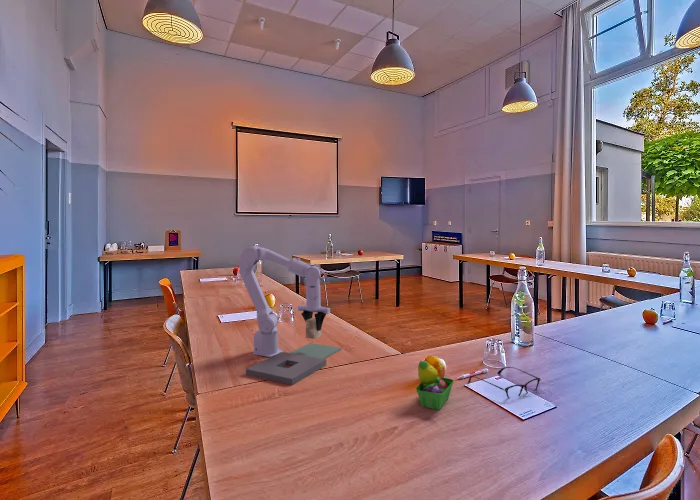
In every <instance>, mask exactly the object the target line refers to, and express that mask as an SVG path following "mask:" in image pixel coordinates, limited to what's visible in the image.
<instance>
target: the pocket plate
mask: <svg viewBox="0 0 700 500" xmlns="http://www.w3.org/2000/svg"><path fill="white" fill-rule="evenodd" d="M287 366H289V367H287ZM326 366H327V358H326V359H321V358H315V357H309V356H304V355H298V354H292V353H290V352H286V351H283V352H281V353H279V354H276V355H274V356H272V357H268V358H267V359H265V360H262V361H260V362H258V363H256V364H253V365H252V366H250V367H248V368H246V369H245V374H246V376H250V377H255V378H258V379H259V378H260V379H263V380H264V379H265V380H270V381H274V382H277V383H282V384H286V385H291V386H293V385H295V384H297V383H299V382H300V381H302V380H303V379H305V378H307V377H309V376H311V375H313V373H315V372H317V371H319V370H320V369H322V368H324V367H326Z"/></svg>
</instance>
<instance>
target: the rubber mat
mask: <svg viewBox="0 0 700 500" xmlns="http://www.w3.org/2000/svg"><path fill="white" fill-rule="evenodd" d="M342 350H343V349H342V347H340V346H333V345H332V346H331V345H327V344H326V345H325V344H319V343H314V342H310V343H307V344H304V345H303V346H301V347H299V348H297V349H294V350H292V351H290V352H289V353H292V354H298V355H304V356H309V357H315V358H321V359H326V360H327V358H329V357H331V356H333V355H334V354H336V353H339V352H340V351H342Z"/></svg>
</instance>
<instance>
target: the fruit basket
mask: <svg viewBox="0 0 700 500" xmlns="http://www.w3.org/2000/svg"><path fill="white" fill-rule="evenodd" d="M417 370H418V371H417V372H418V373H417V374H418V376H417V377H418V379H419V381H420V383H419V384H418V386H416V387H415V390H416V392H417V395H418V398H419V403H420V405H421V407H426V408H430V409H433V410H437V411H439V410H440V409H441V407H443V405H444V404H446V401H447V400H448V399H449V398H450V395H451V391H452V387H453V384H454V383H455V381H454V379H452V378H447V377H444V376H443V377H442V376H438V375H439V373H438V370H437V369H436V368H435V367H434V366H433V365H431V364H430V363H429V362H427V361H426V360H420V361H419V362H418V365H417Z"/></svg>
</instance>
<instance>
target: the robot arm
mask: <svg viewBox="0 0 700 500" xmlns="http://www.w3.org/2000/svg"><path fill="white" fill-rule="evenodd" d="M239 257H240V259H239V266H238V267H239V269H238V271H239V274H240V276H241V280H242V282H243V284H244V286H245V288H246V291H247V292H248V296H249V297H250V300H251V302H252V304H253V306H254V308H255V311H256V319H257V322H258V323H257V326H258V329H259V330H257V331H256V332H255V334H254V336H253V352H252V354H253V355H257V356H262V357H267V358H271V357H273V356H275V355H278V354H280V353H282V352H284V350H282V349H279V334H278V333H279V330H278V328H277V325H278V324H279V317H278V315H277V314H276V313H274V311H273V309H272V308H271V307H270V306H269V304H268V302H267V299H266V297H265V295H264V292H263V290H262V287H261V286H260V284H259V281H258V279H257V276H256V274H255V272H254V269H255V268H256V266H257V264H258V263H259V262H260V261H265V260H268V261H271V262H274V263H276V264H279V265H281V266H284V267H285V268H287V270H288V272H290V273H292V274H295V275H297V276H299V277H300V278H301V277H302V278H305V280H306V282H305V283H306V284H305V295H306V296H305V298H306V299H305V300H306V305H301V304H300V305H297V312H300V311H301V314H300V315H301V316H302V318H303V321H304V322H305V323H306V320H308V319H311V318H313V314H314V318H315V319H316V328H317V331H320V330H321V331H322V327H323V323H324V320H325V318H326V316H327V314H331V308H330V307H325V306H322V305H321V304H322V303H321V302H322V301H321V299H322V298H321V297H322V296H321V279H320V276H321V270H320V268H319V267H317V265H312V263H307V262H304V261H302V260H301V258H299V257H297V258H296V257H293V258H288V257H285V256H284V255H282V254H280V253H277V252H275V251H272V250H271V249H268V248H266V247H261V246H259V245H251V246H246V247H245V248H244V249H243V250H242V251H241V253H240V255H239Z"/></svg>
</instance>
